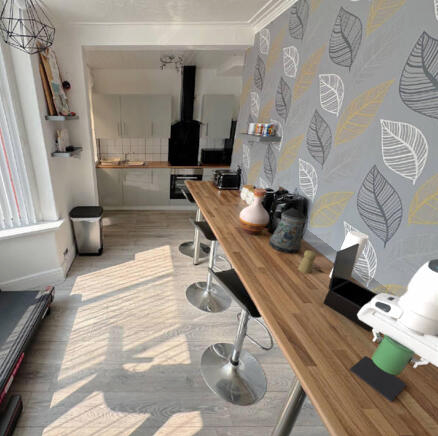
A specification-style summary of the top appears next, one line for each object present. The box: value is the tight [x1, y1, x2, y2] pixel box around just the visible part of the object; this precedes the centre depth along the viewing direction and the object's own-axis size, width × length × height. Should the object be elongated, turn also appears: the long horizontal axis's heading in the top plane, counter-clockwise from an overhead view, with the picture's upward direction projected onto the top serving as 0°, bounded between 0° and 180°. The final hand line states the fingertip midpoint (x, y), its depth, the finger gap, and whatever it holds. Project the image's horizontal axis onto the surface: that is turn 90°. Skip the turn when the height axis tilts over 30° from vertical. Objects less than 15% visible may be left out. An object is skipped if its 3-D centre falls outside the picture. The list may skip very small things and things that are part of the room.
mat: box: [349, 355, 407, 403], centre depth 71 cm, size 10×10×1 cm
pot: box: [371, 334, 416, 376], centre depth 66 cm, size 7×7×10 cm
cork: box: [297, 249, 318, 274], centre depth 118 cm, size 6×6×11 cm
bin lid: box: [328, 244, 359, 290], centre depth 96 cm, size 16×16×1 cm
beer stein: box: [269, 206, 307, 255], centre depth 138 cm, size 16×19×25 cm
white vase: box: [239, 187, 270, 236], centre depth 154 cm, size 20×18×30 cm
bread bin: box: [323, 279, 379, 332], centre depth 94 cm, size 16×16×8 cm
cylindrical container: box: [329, 230, 370, 279], centre depth 109 cm, size 7×7×25 cm
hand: (393, 352), depth 67 cm, fingers closed on pot, 6 cm apart
